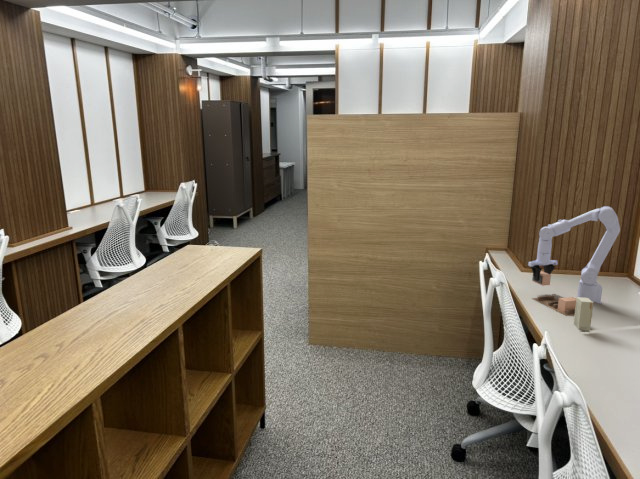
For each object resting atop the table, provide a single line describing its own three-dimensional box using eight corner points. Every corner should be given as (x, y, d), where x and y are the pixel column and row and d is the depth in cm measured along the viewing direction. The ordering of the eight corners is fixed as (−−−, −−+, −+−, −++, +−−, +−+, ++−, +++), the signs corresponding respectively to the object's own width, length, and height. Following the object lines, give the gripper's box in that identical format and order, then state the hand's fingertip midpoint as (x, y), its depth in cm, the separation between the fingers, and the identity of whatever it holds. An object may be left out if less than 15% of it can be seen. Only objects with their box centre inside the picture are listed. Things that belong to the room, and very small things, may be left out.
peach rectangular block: (539, 280, 227) (540, 270, 226) (549, 284, 221) (551, 274, 219) (531, 281, 226) (532, 271, 225) (541, 285, 219) (542, 275, 218)
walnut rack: (555, 298, 220) (555, 293, 219) (592, 315, 199) (592, 310, 198) (530, 300, 217) (531, 295, 216) (566, 318, 196) (566, 312, 195)
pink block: (570, 307, 205) (571, 296, 204) (578, 311, 201) (579, 300, 200) (556, 308, 204) (557, 297, 203) (564, 312, 199) (565, 301, 198)
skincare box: (590, 332, 181) (594, 302, 179) (577, 331, 182) (581, 301, 179) (584, 326, 187) (588, 297, 185) (572, 325, 188) (576, 296, 186)
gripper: (551, 249, 225) (548, 276, 228) (525, 251, 222) (522, 278, 225) (562, 253, 219) (558, 280, 222) (535, 254, 215) (532, 283, 218)
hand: (541, 280), depth 223 cm, fingers closed on peach rectangular block, 5 cm apart
